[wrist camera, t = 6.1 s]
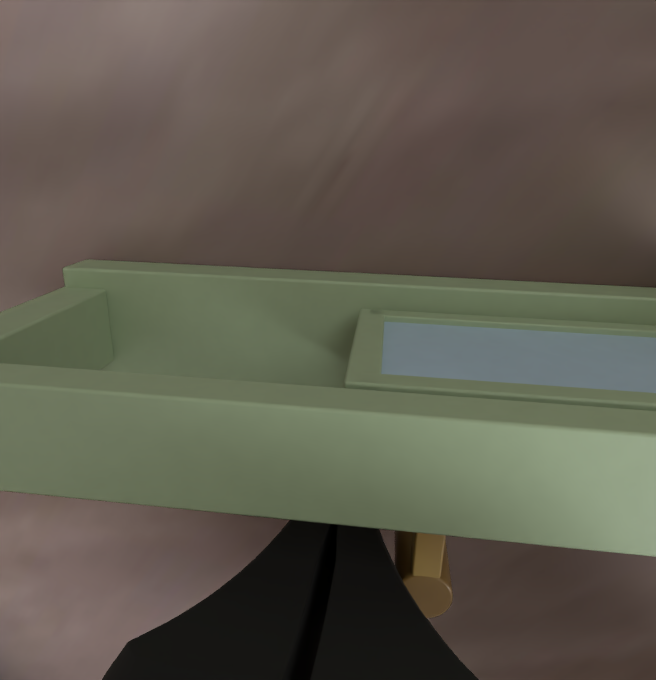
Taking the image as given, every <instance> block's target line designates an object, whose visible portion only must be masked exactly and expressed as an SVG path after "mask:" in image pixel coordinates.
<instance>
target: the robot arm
mask: <svg viewBox="0 0 656 680" xmlns="http://www.w3.org/2000/svg"><path fill="white" fill-rule="evenodd" d="M102 680H479V679H478V678H477V677H476V676H475V675H474V674H473V673H472V672H471V671H470V670H469V669H468V668H467V667H466V666H465V665H464V664H463V663H462V662H461V661H460V660H459V659H458V657H457V656H456V655H455V654H454V653H453V651H452V650H451V649H450V648H449V647H448V646H447V644H446V643H445V642H444V641H443V640H442V638H441V637H440V636H439V634H438V633H437V632H436V630H435V629H434V627H433V626H432V625H431V623H430V622H429V621H428V619H427V618H426V617H425V615H424V614H423V613H422V611H421V610H420V608H419V607H418V605H417V604H416V602H415V600H414V599H413V597H412V596H411V594H410V593H409V591H408V589H407V587H406V586H405V584H404V582H403V580H402V579H401V577H400V575H399V573H398V571H397V569H396V567H395V565H394V563H393V561H392V559H391V557H390V555H389V553H388V550H387V548H386V546H385V543H384V541H383V538H382V536H381V533H380V530H379V529H376V528H366V527H356V526H346V525H336V524H326V523H316V522H306V521H296V520H290V521H289V522H288V523H287V524H286V526H285V527H284V528H283V529H282V530H281V532H280V533H279V534H278V535H277V536H276V537H275V538H274V539H273V540H272V541H271V543H270V544H269V545H268V546H267V547H266V548H265V549H264V550H263V551H262V552H261V553H260V554H259V555H258V556H257V557H256V558H255V559H254V560H253V561H252V562H251V563H250V564H248V565H247V566H246V567H245V568H244V569H243V570H242V571H241V572H239V573H238V574H237V575H236V576H235V577H233V578H232V579H231V580H230V581H228V582H227V583H226V584H225V585H223V586H222V587H221V588H220V589H218V590H217V591H215V592H214V593H213V594H211V595H210V596H209V597H207V598H206V599H204V600H203V601H201V602H200V603H198V604H196V605H195V606H193V607H192V608H190V609H189V610H187V611H186V612H184V613H182V614H181V615H179V616H177V617H176V618H174V619H172V620H170V621H168V622H167V623H165V624H163V625H161V626H159V627H157V628H155V629H153V630H151V631H149V632H147V633H145V634H143V635H141V636H139V637H137V638H135V639H133V640H131V641H129V642H128V643H127V644H126V645H125V647H124V648H123V650H122V651H121V653H120V654H119V655H118V657H117V658H116V660H115V661H114V662H113V664H112V665H111V667H110V668H109V669H108V671H107V672H106V674H105V675H104V677H103V679H102Z"/></svg>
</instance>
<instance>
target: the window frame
mask: <svg viewBox="0 0 656 680" xmlns="http://www.w3.org/2000/svg"><path fill="white" fill-rule="evenodd" d="M63 277H64V284H65V287H63V288H60V289H58V290H55V291H53V292H50V293H48V294H45V295H42V296H40V297H37V298H35V299H32V300H30V301H27V302H25V303H22V304H20V305H17V306H15V307H12V308H10V309H7V310H4V311H2V312H0V491H9V492H19V493H29V494H38V495H48V496H58V497H68V498H78V499H88V500H98V501H108V502H118V503H128V504H138V505H148V506H158V507H167V508H177V509H187V510H197V511H207V512H217V513H227V514H237V515H247V516H257V517H267V518H277V519H287V520H296V521H306V522H316V523H326V524H336V525H346V526H356V527H366V528H376V529H386V530H396V531H406V532H416V533H425V534H435V535H445V536H455V537H465V538H475V539H485V540H495V541H505V542H515V543H525V544H535V545H545V546H554V547H564V548H574V549H584V550H594V551H604V552H614V553H624V554H634V555H644V556H654V557H656V288H650V287H630V286H610V285H590V284H570V283H550V282H530V281H510V280H490V279H470V278H450V277H429V276H409V275H389V274H369V273H349V272H329V271H309V270H289V269H269V268H249V267H229V266H209V265H189V264H169V263H149V262H129V261H109V260H89V259H87V260H84V261H81V262H78V263H75V264H72V265H69V266H66V267H64V268H63Z"/></svg>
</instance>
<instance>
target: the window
mask: <svg viewBox="0 0 656 680" xmlns="http://www.w3.org/2000/svg"><path fill="white" fill-rule="evenodd" d="M445 537H446V536H445V535H435V534H425V533H416V532H406V531H396V530H395V567H396V569H397V571H398V573H399V575H400V577H401V579H402V580H403V582H404V584H405V586H406V587H407V589H408V591H409V593H410V594H411V596H412V597H413V599H414V600H415V602H416V604H417V605H418V607H419V608H420V610H421V611H422V613H423V614H424V615H425V617H426V618H433V617H436V616H439V615H441V614H443V613H444V612H445V611H447V610H448V608H449V607H450V605H451V603H452V600H453V592H452V584H451V577H450V569H449V562H448V554H447V547H446V539H445Z"/></svg>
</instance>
